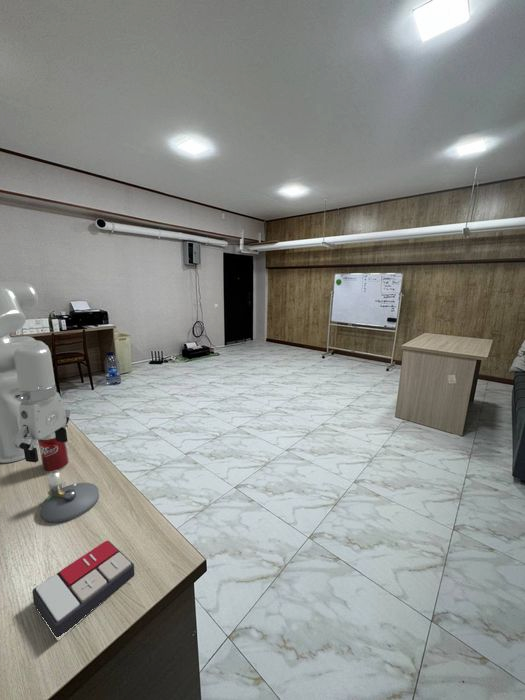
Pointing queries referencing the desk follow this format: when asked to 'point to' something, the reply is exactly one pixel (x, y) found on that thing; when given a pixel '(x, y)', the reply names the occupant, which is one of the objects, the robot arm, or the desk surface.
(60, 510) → the dial plate
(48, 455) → the soda can
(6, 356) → the robot arm
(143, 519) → the desk surface
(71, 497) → the light bulb
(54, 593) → the calculator
